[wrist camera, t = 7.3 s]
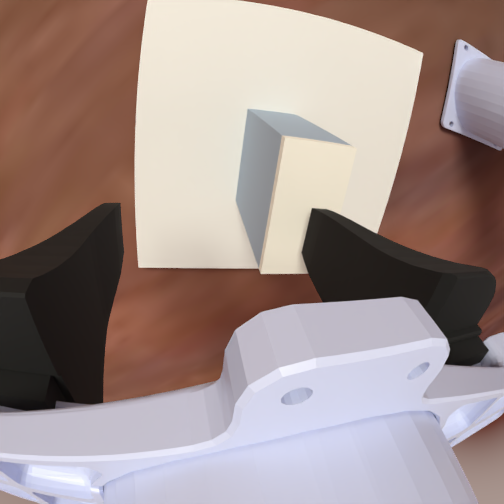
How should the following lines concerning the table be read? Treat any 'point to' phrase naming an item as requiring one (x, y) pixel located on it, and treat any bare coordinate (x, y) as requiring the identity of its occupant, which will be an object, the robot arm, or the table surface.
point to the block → (287, 184)
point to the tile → (235, 112)
